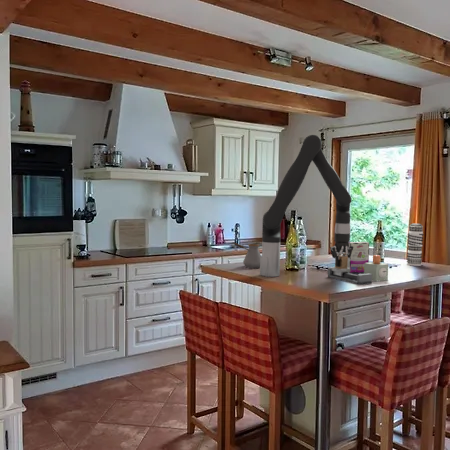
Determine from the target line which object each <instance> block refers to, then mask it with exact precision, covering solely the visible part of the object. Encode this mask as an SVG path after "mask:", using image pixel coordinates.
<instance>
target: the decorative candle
mask: <svg viewBox="0 0 450 450" xmlns="http://www.w3.org/2000/svg"><path fill="white" fill-rule="evenodd" d="M408 226H409V229H408V233H407V238H408V239H407V246H408V247H407V249H408V250H407V253H406V254H407V258H406V265H408V266H412V267H413V266H415V267H419V266H420V267H421V266H422V264H423V262H422V261H423V259H422V258H423V251H422V249H423V248H422V247H423V245H424V243H423V242H424V237H423V236H425V235H424V233H423V232H424V231H423V230H424V228H423V227H424V225H422V224H421V223H411V224H410V225H408Z"/></svg>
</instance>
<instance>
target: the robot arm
mask: <svg viewBox="0 0 450 450" xmlns="http://www.w3.org/2000/svg"><path fill="white" fill-rule="evenodd" d="M322 145H323V144H322V139H321V138H320V136H318V135H316V134H309V135H307V136H306V137H305V138H304V139H303V142H302V144H301V148H300V150H299V152H298V155H297V157H296V158H295V160H294V161H293V163H292V164H291V166H290V167H289V168H288V170H287V172H286V173H285V175H284V177H283V179H282V181H281V183H280V185H279V188H278V191H277V193H276V195H275V198H274V200H273V202H272V204H271V205H270V207H269V209H268V210H266V211H265V213H264V214H263V216H262V230H261V231H262V233H261V236H262V238H261V239H262V242H261V243H262V244H261V249H262V250H261V257H260V268H259V275H260V276H263V277H267V278H268V277H269V278H271V277H272V278H273V277H274V278H275V277H280V273H281V268H280V267H281V239H282V238H281V224H282V222H283V218H284V217H285V216H284V215H285V214H286V211H287V209H288V208H289V205H290V204H291V202H292V201H293V200H294V198H295V196H296V195H297V193H298V191H299V190H300V188H301V186H302V184H303V182H304V180H305V178H306V176H307V174H308V173H307V172H308V170H309V167H310V165H311V163H312V162H313V164H314V165H315V167H316V168H317V170H318V173H320V175H321V178H322V179H323V180H324V184H326V186H327V188H328V190H329V191H330V192H331V193H332V195H333V197H334V199H335V207H336V208H335V209H336V213H335V225H334V242H335V243H334V245H333V246H330V248H329V249H330V254H331V256H332V259H334V260H335V259H336V267H340V257H341V255H342V256H348V258H350V257H351V254H352V250H353V246H350V245H349V242H351V213H350V211H351V209H350V208H351V203H352V196H351V194H350V193H349V191H348V190H347V189H346V187H345V186H344V184H343V182H342V180H341V178H340V177H339V174H338V173H337V172H336V170H335V168H334V167H333V166H332V165H331V163H330V162H329V161H328V159H327V157H326V156H325V154H324V152H323V149H322ZM348 254H349V255H348Z"/></svg>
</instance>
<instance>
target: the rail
mask: <svg viewBox="0 0 450 450" xmlns="http://www.w3.org/2000/svg"><path fill="white" fill-rule="evenodd" d="M327 277H328V278H332V279H335V280H339V281H343V282H347V283H352V284H353V285H359V286H361V285H363V286H364V285H371V284H372V283H373V281H372V274H370V273H369V274H364V273H358V274H357V273H347V272H343V276H338V275H334V274H333V271H332V267H328V268H327Z"/></svg>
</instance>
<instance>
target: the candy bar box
mask: <svg viewBox="0 0 450 450" xmlns="http://www.w3.org/2000/svg"><path fill="white" fill-rule="evenodd" d="M349 245H350V246H353V250H352V254H351V257H350V258H348V263H347V268H351V269H350V272H349V273H351V274H357V273H358V274H364V265H365V263H369V262H370V261H369V260H370V257H369V256H370V242H367V241H350V242H349ZM348 255H349V254H348Z"/></svg>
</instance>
